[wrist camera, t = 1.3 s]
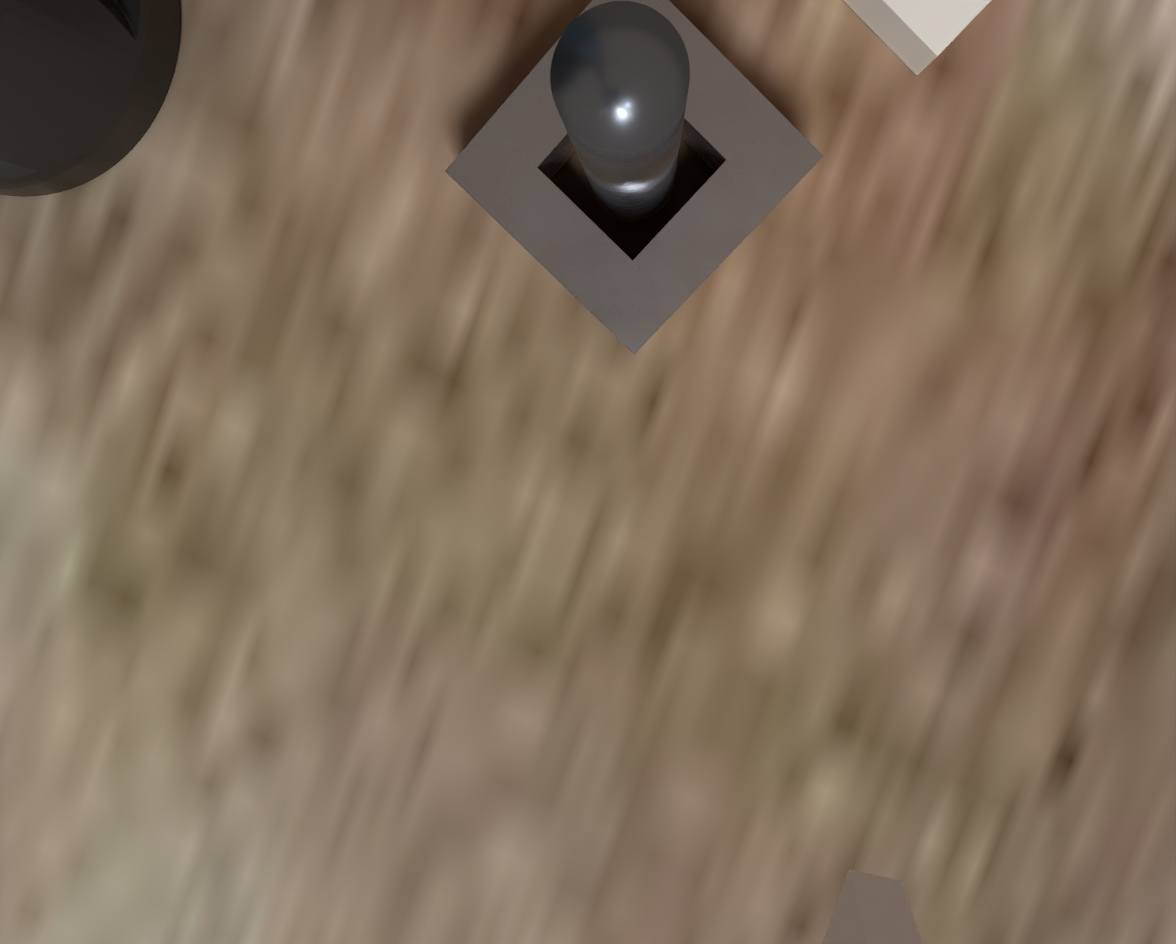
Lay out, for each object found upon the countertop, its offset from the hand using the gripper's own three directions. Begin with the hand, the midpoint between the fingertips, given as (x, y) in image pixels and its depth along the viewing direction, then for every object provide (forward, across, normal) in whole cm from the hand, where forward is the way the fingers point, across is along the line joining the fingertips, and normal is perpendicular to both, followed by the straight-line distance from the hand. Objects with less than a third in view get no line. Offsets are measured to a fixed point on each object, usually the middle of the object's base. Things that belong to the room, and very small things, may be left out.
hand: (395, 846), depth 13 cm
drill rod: (+28, +1, +10) cm, 29 cm away
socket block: (+28, +1, +10) cm, 29 cm away
